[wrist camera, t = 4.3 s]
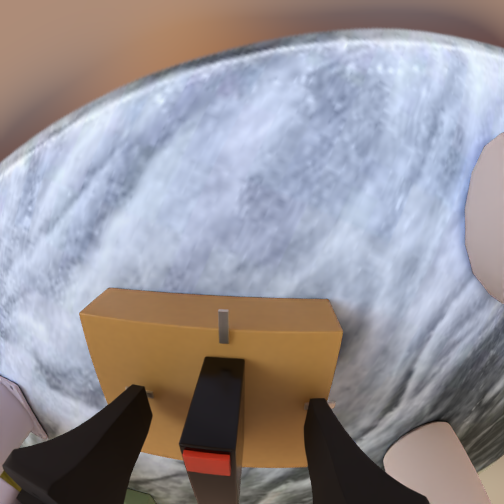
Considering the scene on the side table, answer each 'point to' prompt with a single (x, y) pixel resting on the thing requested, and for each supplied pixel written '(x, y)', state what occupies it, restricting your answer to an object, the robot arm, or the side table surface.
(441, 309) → the side table surface
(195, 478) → the black battery pack
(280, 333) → the brown panel
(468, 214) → the soap bottle
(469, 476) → the can
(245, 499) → the side table surface
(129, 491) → the button box
